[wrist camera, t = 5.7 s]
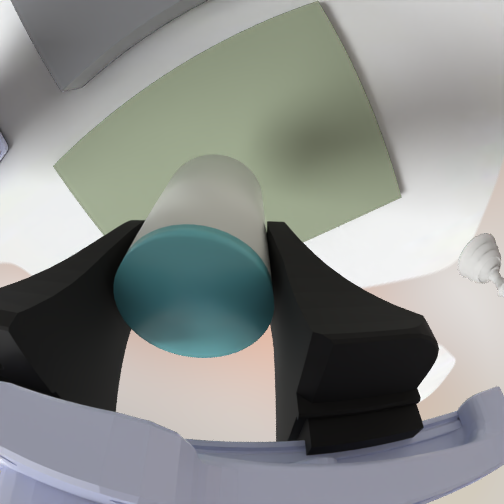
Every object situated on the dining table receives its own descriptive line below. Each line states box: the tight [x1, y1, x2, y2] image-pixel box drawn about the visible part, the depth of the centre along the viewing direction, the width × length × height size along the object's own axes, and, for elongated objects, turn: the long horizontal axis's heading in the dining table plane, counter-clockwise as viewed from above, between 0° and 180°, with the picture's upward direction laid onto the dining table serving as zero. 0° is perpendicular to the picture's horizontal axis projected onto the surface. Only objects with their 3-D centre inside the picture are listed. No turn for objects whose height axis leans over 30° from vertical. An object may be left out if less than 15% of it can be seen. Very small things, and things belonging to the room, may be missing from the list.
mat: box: [53, 1, 401, 242], centre depth 18 cm, size 20×14×1 cm
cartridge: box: [114, 154, 274, 358], centre depth 11 cm, size 4×4×7 cm
